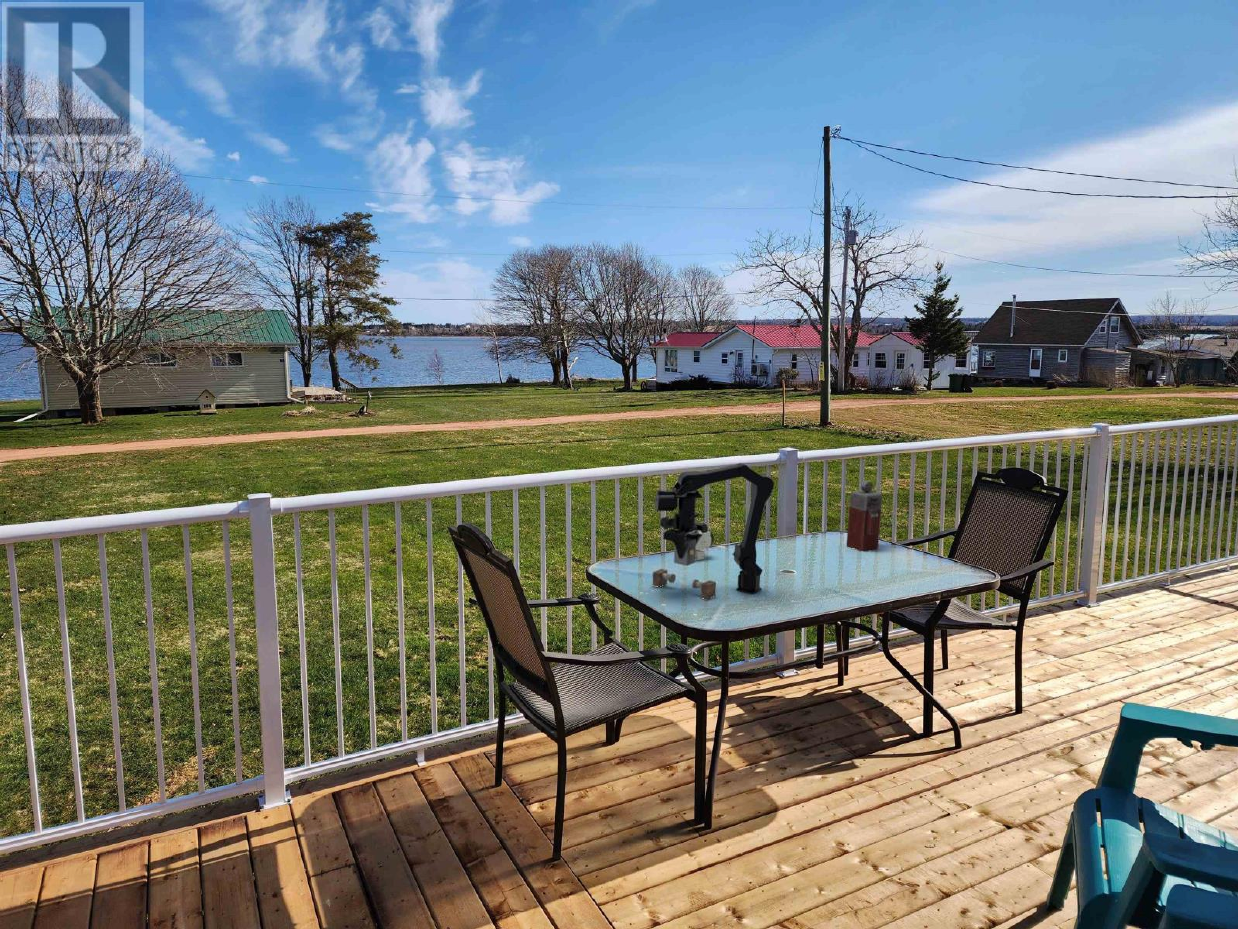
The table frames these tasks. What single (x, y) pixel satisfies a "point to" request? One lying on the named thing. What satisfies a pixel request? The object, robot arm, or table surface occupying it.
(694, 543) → the coupling block
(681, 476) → the robot arm
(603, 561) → the table surface
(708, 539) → the pneumatic valve
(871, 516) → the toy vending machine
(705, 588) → the shaft stand
